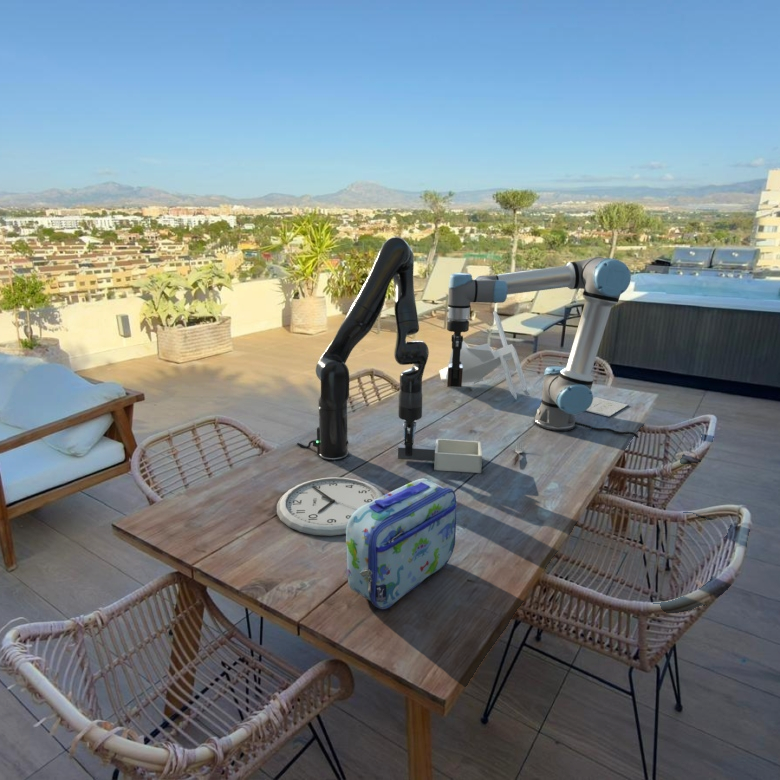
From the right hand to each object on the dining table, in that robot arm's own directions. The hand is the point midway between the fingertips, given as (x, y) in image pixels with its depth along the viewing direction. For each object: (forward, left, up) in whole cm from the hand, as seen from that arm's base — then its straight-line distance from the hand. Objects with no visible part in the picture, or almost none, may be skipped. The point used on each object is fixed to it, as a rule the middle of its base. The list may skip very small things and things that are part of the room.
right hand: (454, 384), depth 187 cm
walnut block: (0, 0, 0) cm, 0 cm away
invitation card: (-64, -43, -20) cm, 80 cm away
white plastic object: (-12, -55, -20) cm, 60 cm away
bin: (+4, +24, -20) cm, 31 cm away
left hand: (+14, +23, -16) cm, 32 cm away
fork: (-22, +16, -20) cm, 34 cm away
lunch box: (+10, +85, -20) cm, 88 cm away
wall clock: (+32, +56, -20) cm, 68 cm away
